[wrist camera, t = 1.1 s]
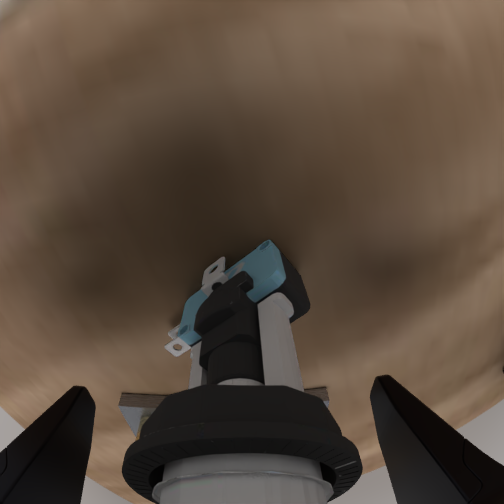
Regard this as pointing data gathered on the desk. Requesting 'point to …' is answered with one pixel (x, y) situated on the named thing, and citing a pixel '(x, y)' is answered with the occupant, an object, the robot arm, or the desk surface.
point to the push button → (242, 401)
